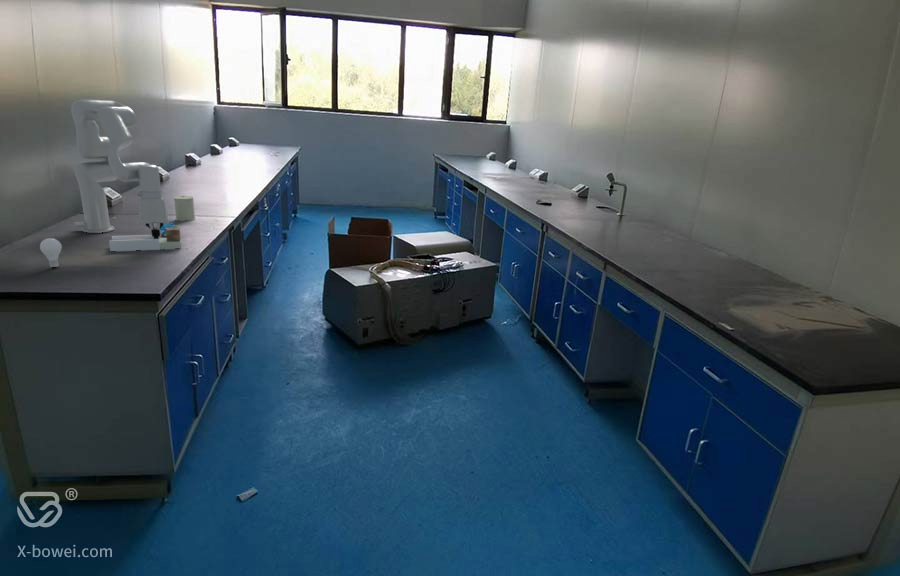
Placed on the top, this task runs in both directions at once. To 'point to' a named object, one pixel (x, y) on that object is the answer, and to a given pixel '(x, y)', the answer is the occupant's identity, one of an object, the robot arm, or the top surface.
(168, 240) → the block
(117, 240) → the trough
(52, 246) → the lightbulb
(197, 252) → the top surface
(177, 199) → the can
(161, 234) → the gear
